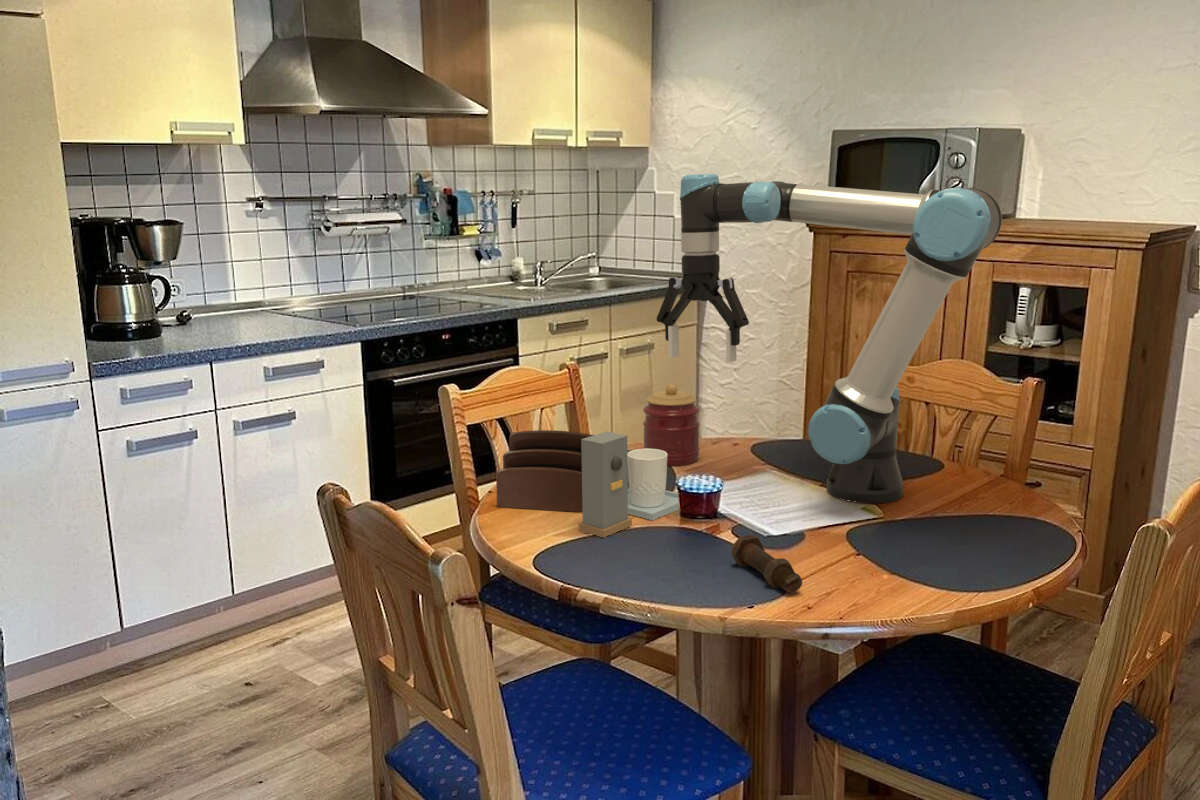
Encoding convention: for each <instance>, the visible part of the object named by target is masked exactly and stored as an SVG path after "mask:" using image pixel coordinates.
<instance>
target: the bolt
mask: <svg viewBox="0 0 1200 800" xmlns="http://www.w3.org/2000/svg"><path fill="white" fill-rule="evenodd" d="M760 540H761V539H759V537H758V536H757V535H756V534H746V535H742V536H740V537H738V538H737V539H736V541H735V542H734V544H733V546H732V548H731V552H730V553H731V557H732V558H733V559H734V562H735V563H736V564H737V566H738V567H740V568H744V567H750V566H751V567H752V568H754V569H755V570H757V572H759V573H761V574H762V575H763V577H764V579H765V581H766V582H767V584H768V586H770V587H771V588H772V589H780V588H781V589H783V590H784V591H785V592H786V593H790V594H792V593H796V592H797V591H798V590H799V589H800V588H801V587H802V586H803V578H802V577H801V575H800V574H798V573H797V572H795V569H794V568H793V565H791V563H790V561H789V560H787V559H786V558H783V557H782V558H775V557H774V556H773V555H771V554H769V553H768V552H766V551H765V550H766V549H765V548H764V546H763V544H762V542H761V541H760Z"/></svg>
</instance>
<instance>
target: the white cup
mask: <svg viewBox="0 0 1200 800" xmlns="http://www.w3.org/2000/svg"><path fill="white" fill-rule="evenodd" d="M667 455H668V454H667V452H665V451H662V450H658V449H643V448H638V449H634V450H633V449H632V450H630V451H627V460H628V489H629V490H630V499H631V504H633V505H635V506H638V507H647V508H650V507H657V506H661V505H662V504H664V503H665V490H666V487H667V475H668V474H667V472H668V466H667Z"/></svg>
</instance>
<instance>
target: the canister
mask: <svg viewBox="0 0 1200 800" xmlns="http://www.w3.org/2000/svg"><path fill="white" fill-rule="evenodd" d="M677 387H678V386H677V385H676V384H673V383H669V384H667V385H666V387H665V390H658V391H655V392H653V393H652V394H651V395H650V396H648V397H647V398H646V402H647V405H645V406H644V407H643V409H642V412H643V413H644V415H645V417H644V421H643V423H642V425H643V448H642V449H658V450H662V451H665V452H667V454H668V455H667V467H668V466H669V467H670V466H671V467H672V466H674V467H675V466H676V467H677V466H686V465H690V464H693V463H695V462H697V461H698V460H699V456H700V425H701V423H700V421H699V420H698V418H699V417H698V414H699V413H700V411H701V409H700V406H697V405H696V402H697V398H696V397H695V396H693V395H692V394H691V393H689V392H688V391H683V390H678V388H677Z"/></svg>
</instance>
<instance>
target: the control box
mask: <svg viewBox="0 0 1200 800" xmlns="http://www.w3.org/2000/svg"><path fill="white" fill-rule="evenodd" d="M593 435H594V436H590V437H587V438H584V439H581V447H582V506H583V513H582V522H580V523H578V531H579V532H580V533H583V532H584V533H583V534H587V533H588V534H587V535H590V534H592V535H591V536H593V535H597V536H600V537H606V536H608V535H611V534H613V533H616V532H618V531H620V530H623V529H625V528H627V527H630V526H632V527H633V520H632V518H629V515H628V489H629V478H628V459H627V453H628V435H626V434H620V433H615V432H611V431H604V432H601V433H598V434H593ZM630 528H631V527H630ZM627 529H628V528H627ZM625 530H626V529H625ZM623 531H624V530H623ZM620 532H621V531H620ZM618 533H619V532H618ZM616 534H617V533H616ZM613 535H614V534H613ZM597 536H596V537H597ZM611 536H612V535H611ZM600 537H599V538H600ZM606 538H607V537H606Z"/></svg>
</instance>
